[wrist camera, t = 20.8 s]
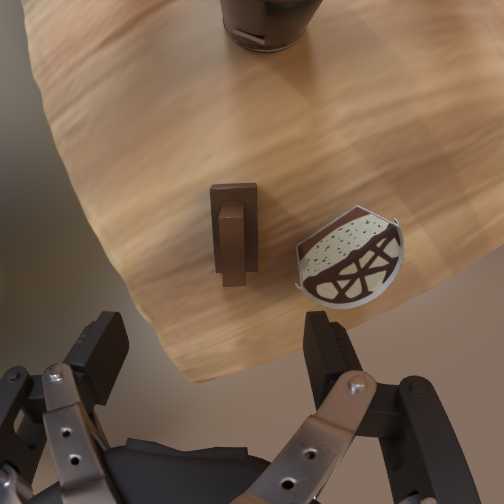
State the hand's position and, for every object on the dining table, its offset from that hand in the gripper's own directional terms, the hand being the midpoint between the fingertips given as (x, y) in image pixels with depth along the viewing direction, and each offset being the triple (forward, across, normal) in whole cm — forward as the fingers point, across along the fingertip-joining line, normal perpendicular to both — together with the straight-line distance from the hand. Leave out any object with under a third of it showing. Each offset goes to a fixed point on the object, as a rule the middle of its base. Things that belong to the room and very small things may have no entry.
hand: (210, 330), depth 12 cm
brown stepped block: (+24, 0, +3) cm, 24 cm away
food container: (+24, -13, +6) cm, 28 cm away
